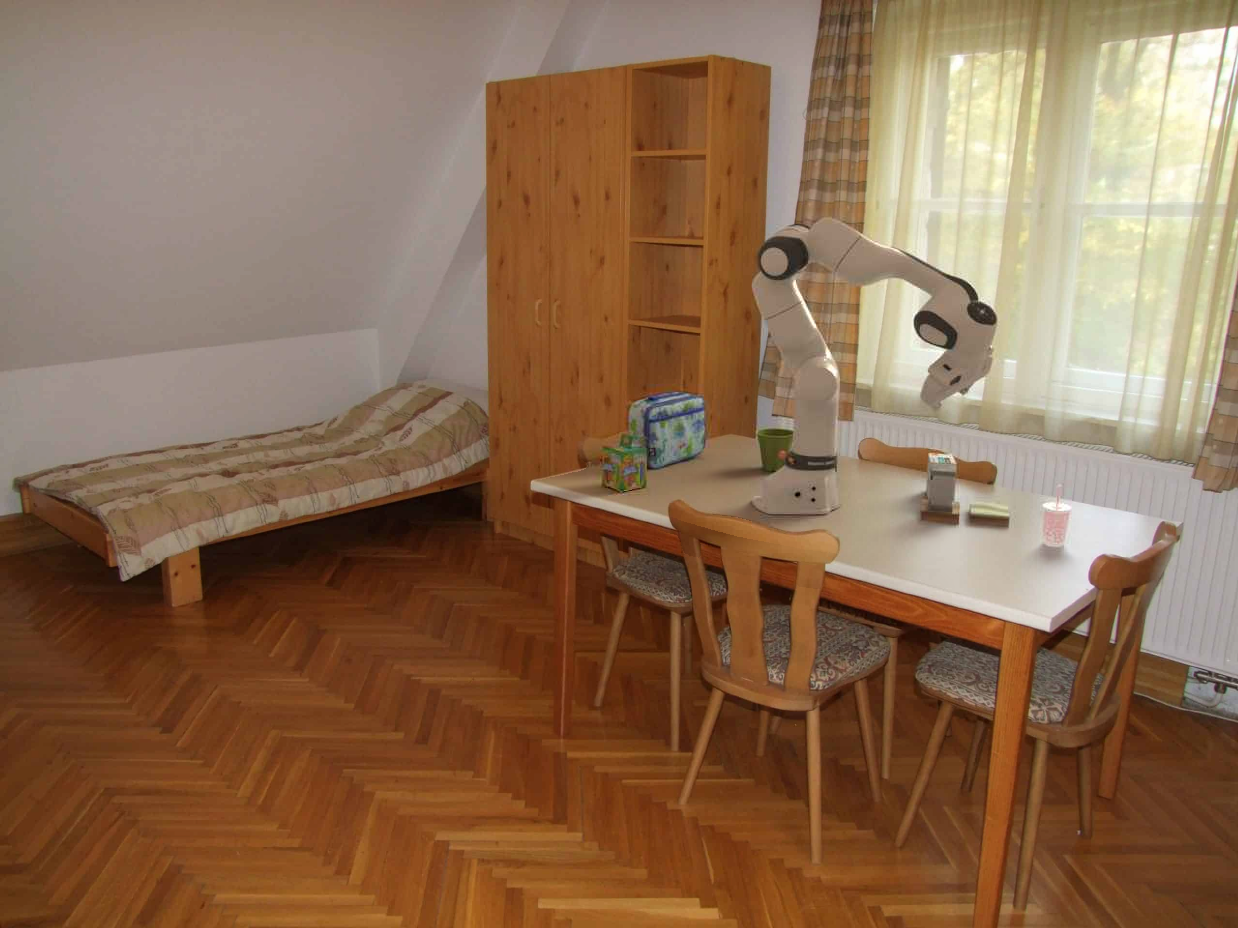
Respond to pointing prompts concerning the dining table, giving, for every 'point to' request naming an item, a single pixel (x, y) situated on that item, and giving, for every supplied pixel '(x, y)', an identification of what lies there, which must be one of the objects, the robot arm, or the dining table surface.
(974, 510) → the stand
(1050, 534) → the beverage cup
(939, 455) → the light bulb box
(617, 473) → the chalk box
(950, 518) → the stand
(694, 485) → the dining table surface
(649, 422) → the lunch box
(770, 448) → the plant pot
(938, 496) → the housing
